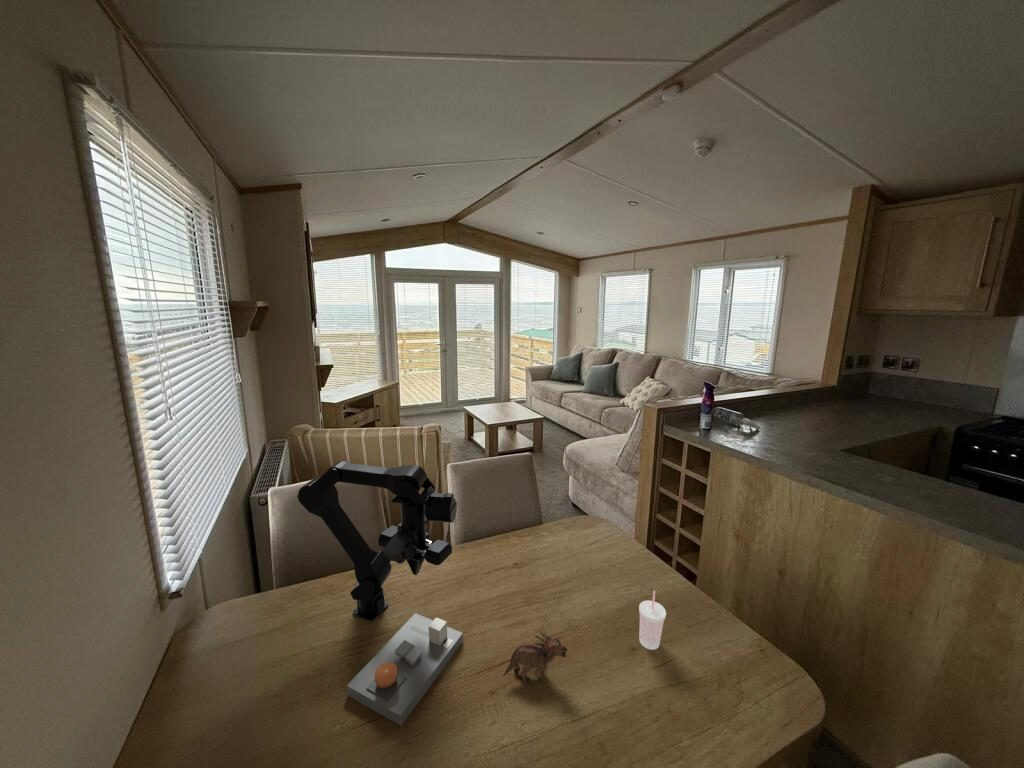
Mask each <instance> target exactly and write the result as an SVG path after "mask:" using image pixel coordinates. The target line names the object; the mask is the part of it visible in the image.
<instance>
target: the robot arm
mask: <svg viewBox="0 0 1024 768" xmlns="http://www.w3.org/2000/svg"><path fill="white" fill-rule="evenodd" d="M337 483H345V484H353V485H360V486H369V487H374V488H376V487H377V488H383V489H386V490H388V491H389V492H390V493H392V494H393V495H394V496H393V497H392V499H391V503H395V504H400V516H401V517H400V519H401V522H400V523H399V524H397V525H393V524H392V525H391V526H389V527H388V528H386V529H385V530H383V531H382V532H381V533H380V534H379V535H378V538H377V539H378V546H379V547H382V548H383V549H380V550H379V551H377V550H374V549H372V548H371V547H370V546H369V544H368V543H367V542H366V540H365V539H364V537H363V536H362V535H361V533H360V532H359V530H358V529H357V527H356V526H355V524H354V523H353V522H352V521H351V519H350V518H349V516H348V514H347V513H346V512H345V511H344V509H343V507H342V506H341V505H340V502H339V492H338V489H337V487H336V486H335V485H336V484H337ZM422 488H424V489H423V491H422V492H420V491H421V489H422ZM436 490H437V487H436V486H435V485H434V484H433V482H432V481H431V480H430V479H429V477H428V476H427V473H426V471H425V470H424V468H423V467H422V466H420V465H417V464H412V465H409V464H408V465H401V466H396V467H382V466H377V465H368V464H367V465H366V464H359V463H351V462H347V461H344V460H339V461H336V463H334V464H333V465H331V466H330V467H329V468H328V469H327V471H326V472H324V473H323V474H322V475H316V476H315V477H313V478H312V479H311V480H309V481H308V482H307V483H306V484H304V485H303V486H301V487H300V488H299V490H298V493H297V496H296V497H297V500H298V502H299V504H301V505H302V506H303V508H304V509H305V510H306V511H307V512H308V513H310V514H312V515H314V516H317V517H320V519H322V521H323V522H324V524H325V525H326V527H327V528H328V529H329V531H330V532H331V533H332V535H333V536H334V538H335V539H336V540H337V542H338V544H340V546H341V548H342V549H343V550H344V552H345V553H346V554H347V556H348V557H349V559H350V560H351V561H352V563H353V568H354V575H355V577H354V578H355V579H356V581H357V583H356V584H355V585H354V587H353V588H352V590H351V591H350V596H351V598H352V600H354V601H355V600H356V605H357V607H355V608H354V610H352V614H353V615H355V616H357V617H360V618H362V619H364V620H366V621H368V622H373V621H374V620H375V619H376V618H377V617H378V616H379V615H380V614H381V613H382V612H383V611H385V609H387V608H388V607H389V603H388V602H386V601H385V595H384V589H383V585H384V584H385V582H386V580H387V579H388V577H389V575H390V574H391V572H392V565H391V562H395V563H397V564H403V563H405V562H407V564H408V566H409V568H410V571H411V572H412V575H414V576H417V575H418V574H419V573H420V570H421V569H422V566H423V563H424V561H426V562H427V563H429V564H432V565H434V566H440V565H441V564H442V563H444V562H445V561H446V560H447V558H449V557H450V556H451V555H452V553H453V545H452V543H450V542H446V541H443V540H440V539H437V540H435V541H434V542H432V540H429V538H430V533H428V532H427V524H429V523H430V522H439V523H451V524H452V523H454V522H455V520H456V516H457V509H458V502H457V500H456V498H455V497H454V496H455V495H454V493H452V492H450V493H449V492H446V493H440V492H435V491H436Z"/></svg>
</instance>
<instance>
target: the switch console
mask: <svg viewBox="0 0 1024 768" xmlns="http://www.w3.org/2000/svg"><path fill="white" fill-rule="evenodd" d="M433 621H434V619H431V618H428V617H425V616H423V615H420V614H418V613H416V612H415V613H414V614H413V615H412V616H411V617H410V618H409V619H408V620H407V621H406V622H405V624H403V625H402V626H401V628H400V629H399V630H398V631H397V632H396V633H395V634H394V635H393V636H392V637H391V638H390V639H389V640H388V641H387V642H386V643H385V645H383V647H382V648H381V649H380V650H379V651H378V652H377V653H376V654H375V655H374V656H373V657H372V658H371V659H370V660H369V662H368V663H367V664H366V665H365V666H363V668H361V670H360V671H359V672H358V673H357V674H356V675H355V676H354V677H353V678H352V680H350V682H349V683H347V685H346V693H347V696H348V697H350V698H351V699H353V700H354V701H356V702H358V703H360V704H362V705H364V706H365V707H367V709H371V710H372V711H374V712H375V713H377V714H379V715H381V716H382V717H385V718H386V719H388V720H389V721H392V722H393V723H394V724H397V725H398V726H400V727H402V726H403V724H404V723H405V722H406V720H407V719H408V717H409V716H410V715H411V713H412V712H413V711H414V709H415V708H416V707H417V705H418V704H419V703H420V701H421V700H422V698H424V696H425V694H426V693H427V692H428V690H429V689H430V687H431V686H432V685H433V684H434V682H436V679H437V678H438V676H439V675H440V674H441V672H442V671H443V669H444V668H445V667H446V666H447V664H448V663H449V661H450V660H451V659H452V658H453V656H454V655H455V653H456V651H458V649H459V648H460V646H462V644H463V642H464V639H463V637H464V634H463V632H461V631H459V630H456V629H454V628H452V627H450V626H447V637H446V639H445V640H444V641H443V642H442V644H441V645H440V646H439V645H437V644H435V643H432V642H430V641H429V625H430V624H431V623H432V622H433ZM404 640H406V641H408V642H409V643H411V644H412V645H414V646H415V647H417V648H418V649H420V650H422V651H423V652H422V655H421V657H420V658H419V659H418V660H417V661H416V663H415V664H414V665H413V666H412V665H411V664H409V663H408V662H406V661H404V660H403V659H402V658H400V657H399V656H397V655H396V654H395V650H396V649H397V648H398V647H399V646H400V644H401V643H402V642H403V641H404ZM386 662H392V663H394V664H395V665H396V666H397V675H398V676H397V680H396V681H395V683H394V684H393V685H391V686H389V687H386V688H380V687H378V686H377V685H376V683H375V671H376V669H377V668H378V667H379V666H380V665H381V664H383V663H386Z"/></svg>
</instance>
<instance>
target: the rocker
mask: <svg viewBox="0 0 1024 768" xmlns="http://www.w3.org/2000/svg"><path fill="white" fill-rule="evenodd" d="M422 652H423V651H422V650H420V649H418V648H417V647H415V646H414V645H412V644H411V643H409V642H408V641H406V640H404V641H403V642H402V643H401V644H400V646H399V647H398V648H397V649H396V650H395V654H396V655H397V656H399V657H400V658H402V659H403V660H404V661H406V662H408V663H409V664H411V665H412V666H413V665H414V664H415V663H416V661H417V660H418V659H419V658H420V657H421V655H422Z"/></svg>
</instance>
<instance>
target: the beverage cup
mask: <svg viewBox="0 0 1024 768" xmlns="http://www.w3.org/2000/svg"><path fill="white" fill-rule="evenodd" d="M652 592H653V593H652V600H650V599H649V600H643V601H642V602H640V603H639V605H638V612H639V631H638V632H639V636H638V637H639V638H638V639H639V643H640V644H641V645H642V646H643V647H644V648H645V649H647V650H652V651H653V650H657V649H658V648H659V646H660V643H661V638H662V637H661V636H662V633H663V628H664V627H663V626H664V622H665V620H666V617H667V610H666V609H665V607H664V606H663V605H662V604H660V603H659V602H657V601H655V599H656V590H653V591H652Z"/></svg>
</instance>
